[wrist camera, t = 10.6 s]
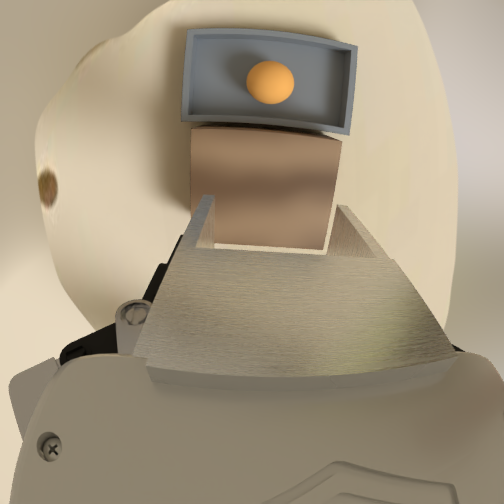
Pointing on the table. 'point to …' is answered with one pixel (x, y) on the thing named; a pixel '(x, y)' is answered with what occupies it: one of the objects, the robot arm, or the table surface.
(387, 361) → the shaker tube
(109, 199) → the table surface
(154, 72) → the table surface
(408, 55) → the table surface
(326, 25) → the table surface
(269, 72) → the ball
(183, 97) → the tray
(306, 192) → the stand
